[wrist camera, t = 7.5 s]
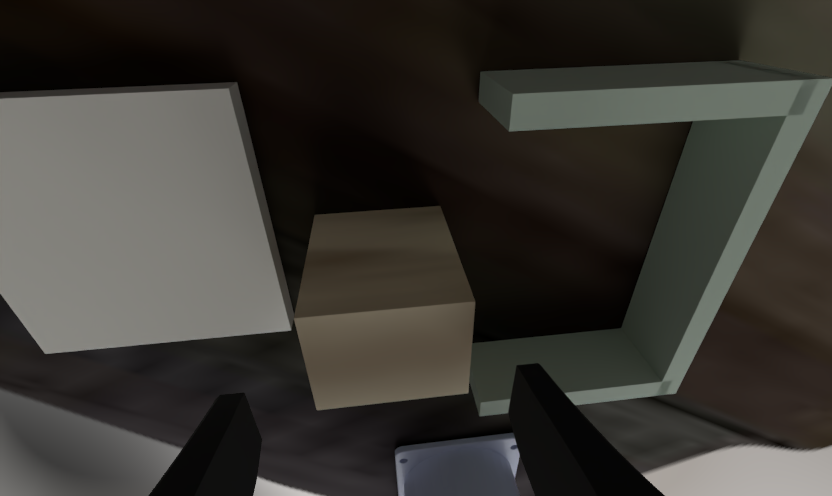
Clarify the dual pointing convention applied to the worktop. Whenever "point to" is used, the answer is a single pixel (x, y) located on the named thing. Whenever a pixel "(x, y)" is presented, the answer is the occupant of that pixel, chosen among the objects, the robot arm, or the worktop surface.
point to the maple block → (384, 308)
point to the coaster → (135, 218)
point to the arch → (680, 218)
